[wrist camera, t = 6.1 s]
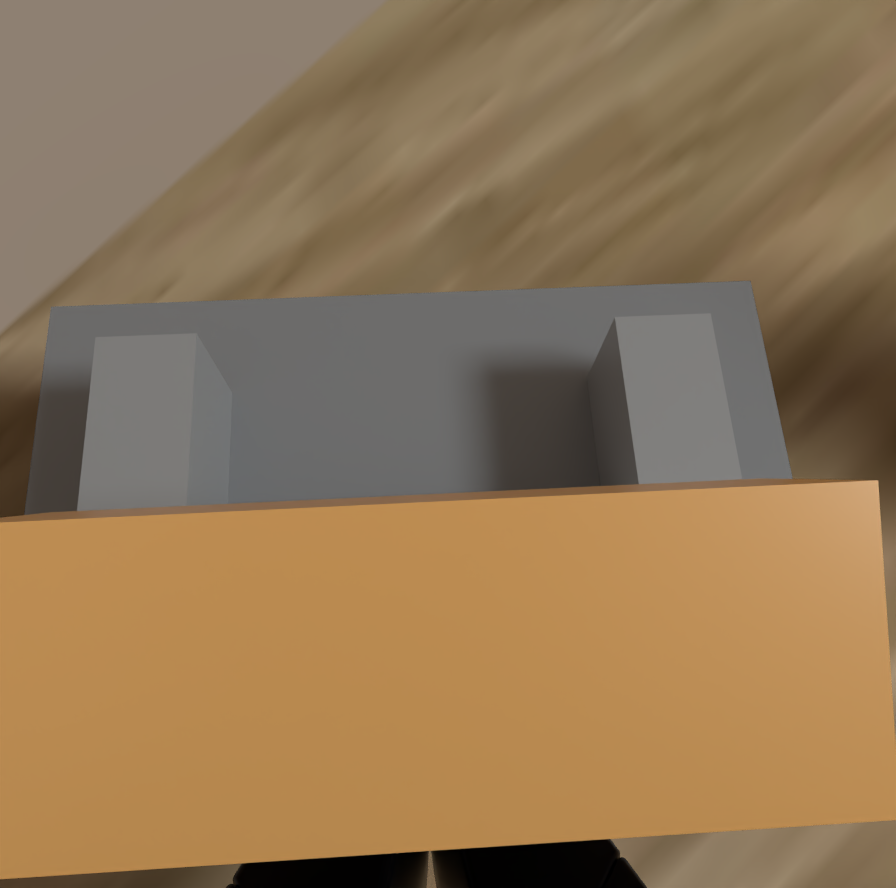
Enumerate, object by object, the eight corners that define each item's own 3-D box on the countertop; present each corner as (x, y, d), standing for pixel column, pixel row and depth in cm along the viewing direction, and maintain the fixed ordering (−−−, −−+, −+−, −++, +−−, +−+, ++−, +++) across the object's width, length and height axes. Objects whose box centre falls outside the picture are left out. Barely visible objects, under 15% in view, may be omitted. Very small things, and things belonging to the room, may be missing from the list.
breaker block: (746, 793, 17) (961, 844, 10) (104, 834, 17) (-130, 918, 10) (676, 381, 21) (803, 207, 14) (140, 404, 20) (-15, 235, 13)
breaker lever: (577, 587, 14) (901, 821, 5) (261, 603, 14) (-75, 884, 4) (571, 475, 14) (877, 480, 5) (256, 490, 14) (-83, 526, 4)
